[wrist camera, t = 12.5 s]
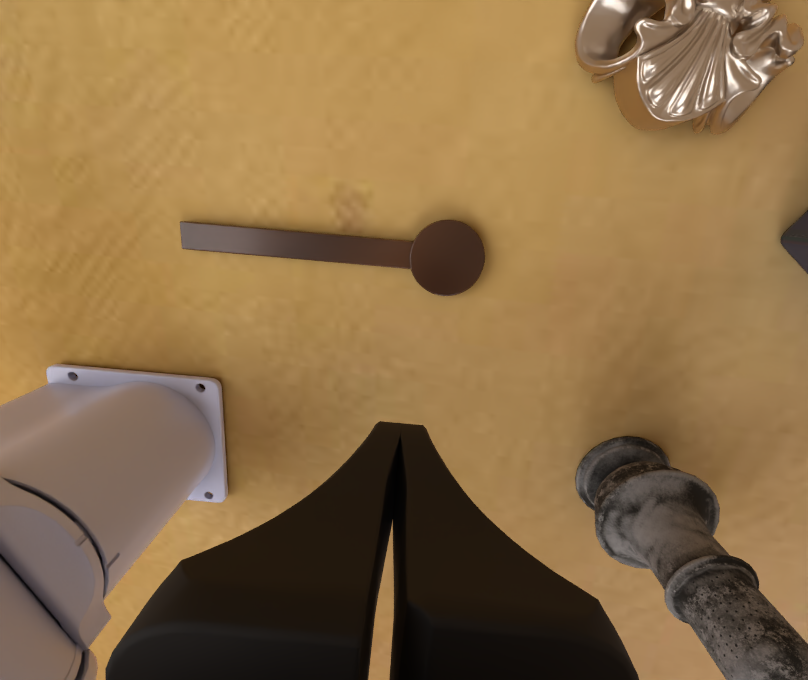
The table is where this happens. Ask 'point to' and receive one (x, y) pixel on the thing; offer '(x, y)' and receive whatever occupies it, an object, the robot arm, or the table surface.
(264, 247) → the brown disc-ended stick
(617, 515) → the grey stone chess piece
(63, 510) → the robot arm
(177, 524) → the table surface
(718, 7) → the ornament
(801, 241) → the calculator
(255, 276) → the table surface
